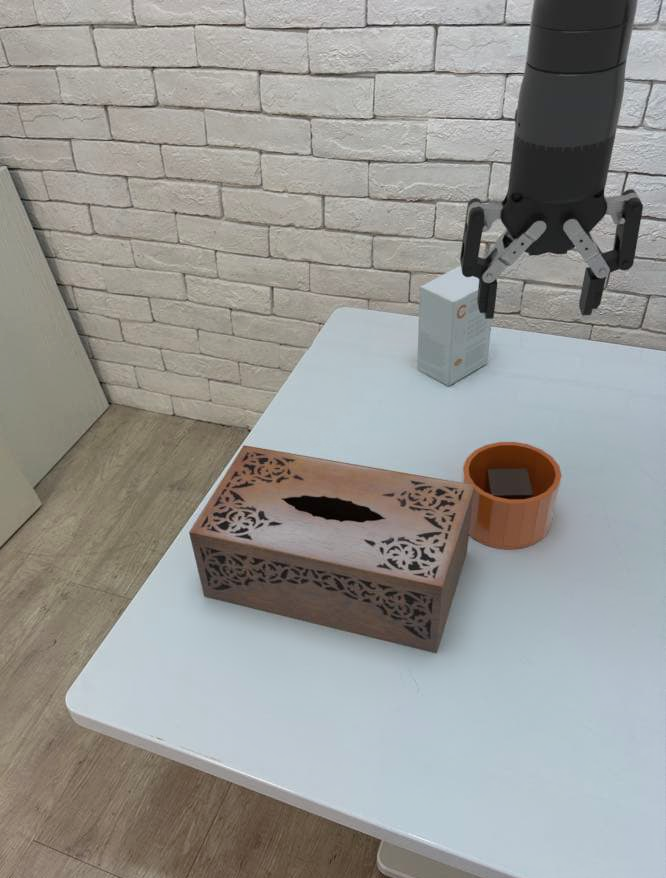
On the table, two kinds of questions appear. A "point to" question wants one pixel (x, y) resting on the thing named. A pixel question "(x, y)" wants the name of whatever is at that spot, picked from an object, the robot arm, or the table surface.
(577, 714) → the table surface
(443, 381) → the small box
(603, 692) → the table surface
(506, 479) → the walnut block
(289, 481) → the tissue box cover
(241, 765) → the table surface
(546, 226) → the robot arm
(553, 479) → the round open container
